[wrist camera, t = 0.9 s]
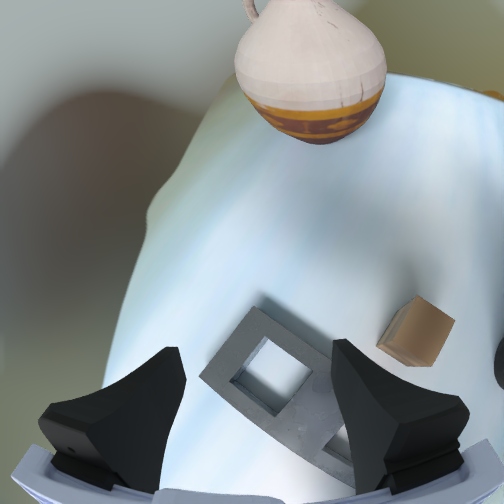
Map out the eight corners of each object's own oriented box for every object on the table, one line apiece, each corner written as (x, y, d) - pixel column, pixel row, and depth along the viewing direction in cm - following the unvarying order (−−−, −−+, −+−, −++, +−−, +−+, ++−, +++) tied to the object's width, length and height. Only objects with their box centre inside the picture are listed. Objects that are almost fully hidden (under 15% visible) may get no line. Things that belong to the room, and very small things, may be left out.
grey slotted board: (429, 422, 19) (436, 426, 17) (372, 490, 17) (374, 498, 16) (258, 309, 28) (253, 305, 26) (206, 375, 27) (198, 376, 25)
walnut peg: (426, 331, 23) (455, 320, 16) (406, 366, 22) (431, 366, 16) (396, 311, 24) (417, 295, 18) (375, 346, 24) (392, 340, 17)
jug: (230, 124, 40) (148, -43, 14) (313, 77, 41) (276, -75, 14) (316, 197, 31) (246, -89, 5) (405, 130, 32) (411, -74, 5)
